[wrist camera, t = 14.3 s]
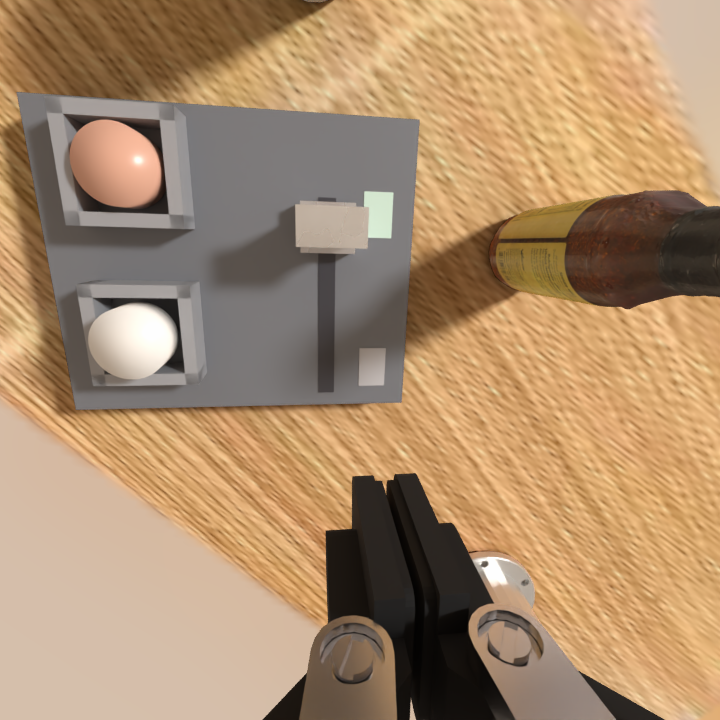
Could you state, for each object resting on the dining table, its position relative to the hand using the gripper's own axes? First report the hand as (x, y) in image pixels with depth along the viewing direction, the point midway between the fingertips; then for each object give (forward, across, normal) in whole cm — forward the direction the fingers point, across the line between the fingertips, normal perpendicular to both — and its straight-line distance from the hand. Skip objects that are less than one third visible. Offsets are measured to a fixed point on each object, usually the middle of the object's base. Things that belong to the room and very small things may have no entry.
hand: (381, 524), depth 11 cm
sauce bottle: (+24, -15, -7) cm, 29 cm away
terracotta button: (+19, +13, -12) cm, 26 cm away
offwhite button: (+19, +13, -1) cm, 23 cm away
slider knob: (+20, +1, -8) cm, 22 cm away
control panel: (+23, +7, -6) cm, 25 cm away
